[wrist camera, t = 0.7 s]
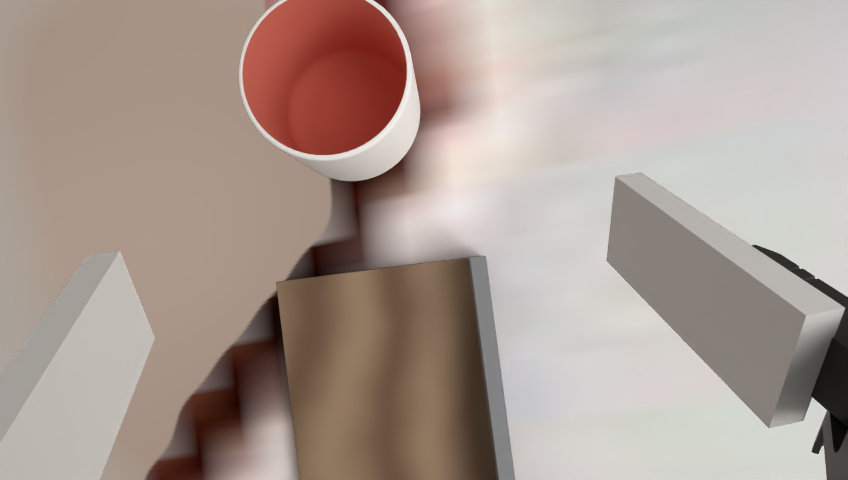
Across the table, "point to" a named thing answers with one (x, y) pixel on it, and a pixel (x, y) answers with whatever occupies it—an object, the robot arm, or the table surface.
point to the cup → (331, 85)
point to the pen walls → (491, 368)
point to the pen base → (387, 374)
